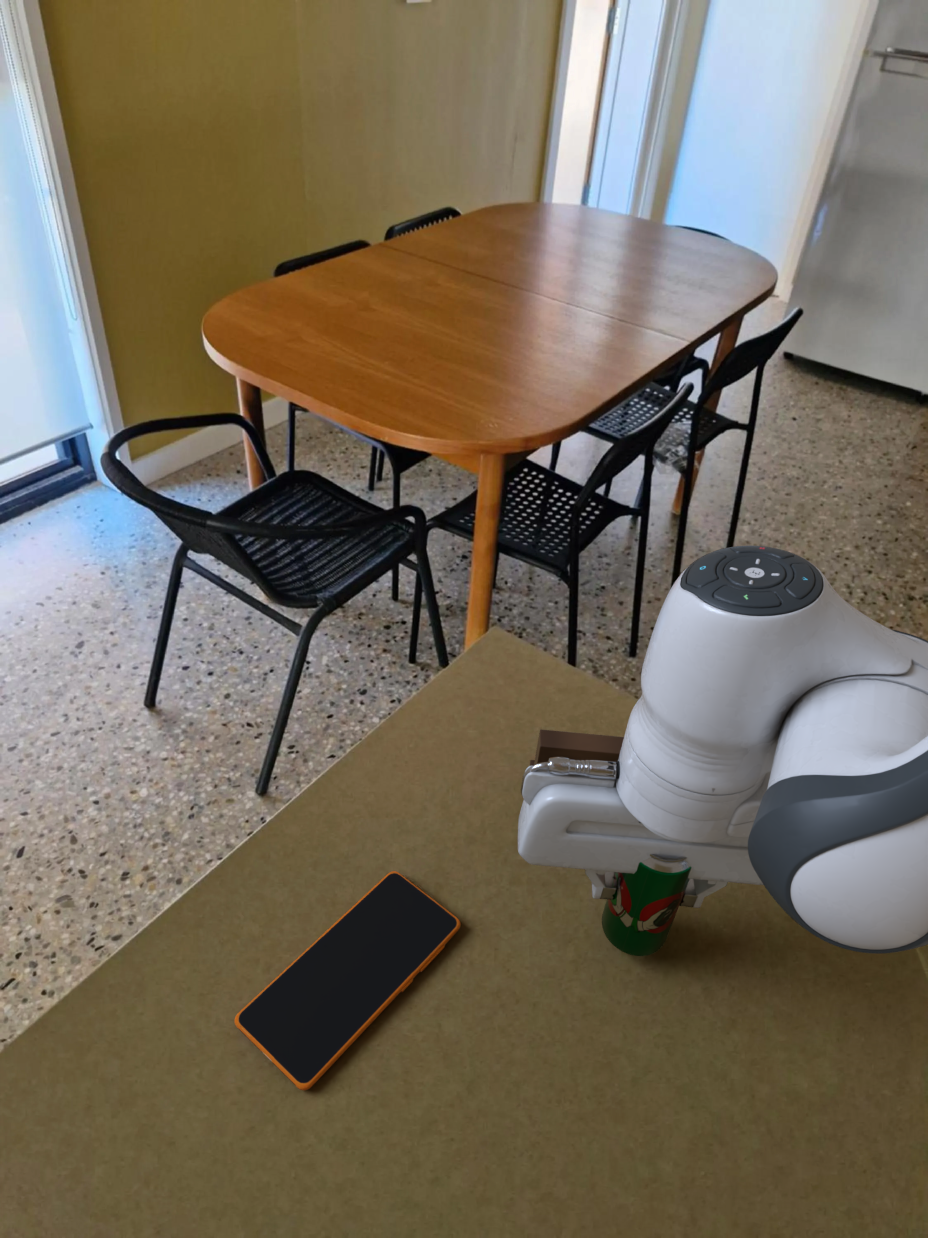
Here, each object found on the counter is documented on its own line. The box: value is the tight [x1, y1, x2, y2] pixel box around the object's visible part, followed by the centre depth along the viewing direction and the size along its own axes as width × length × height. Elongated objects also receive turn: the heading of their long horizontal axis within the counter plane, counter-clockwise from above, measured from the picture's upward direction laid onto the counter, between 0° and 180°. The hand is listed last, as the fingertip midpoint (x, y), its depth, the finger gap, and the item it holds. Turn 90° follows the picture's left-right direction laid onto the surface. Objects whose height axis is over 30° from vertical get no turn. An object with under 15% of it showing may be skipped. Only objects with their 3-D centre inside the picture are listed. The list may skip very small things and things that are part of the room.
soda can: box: [601, 854, 692, 957], centre depth 65 cm, size 5×5×12 cm
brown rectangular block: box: [529, 729, 624, 766], centre depth 78 cm, size 16×5×8 cm, turn 86°
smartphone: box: [234, 870, 462, 1091], centre depth 65 cm, size 8×17×1 cm, turn 141°
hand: (645, 895), depth 66 cm, fingers closed on soda can, 5 cm apart
